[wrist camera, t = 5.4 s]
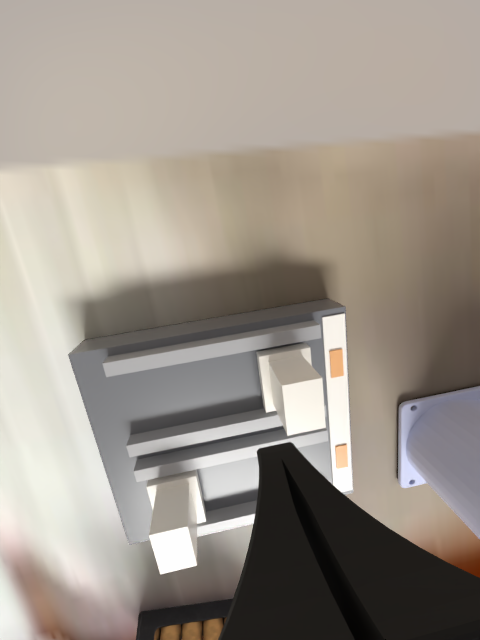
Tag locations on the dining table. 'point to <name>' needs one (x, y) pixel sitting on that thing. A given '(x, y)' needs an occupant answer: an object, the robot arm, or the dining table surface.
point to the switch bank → (209, 407)
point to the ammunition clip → (184, 622)
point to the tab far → (175, 519)
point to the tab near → (292, 388)
